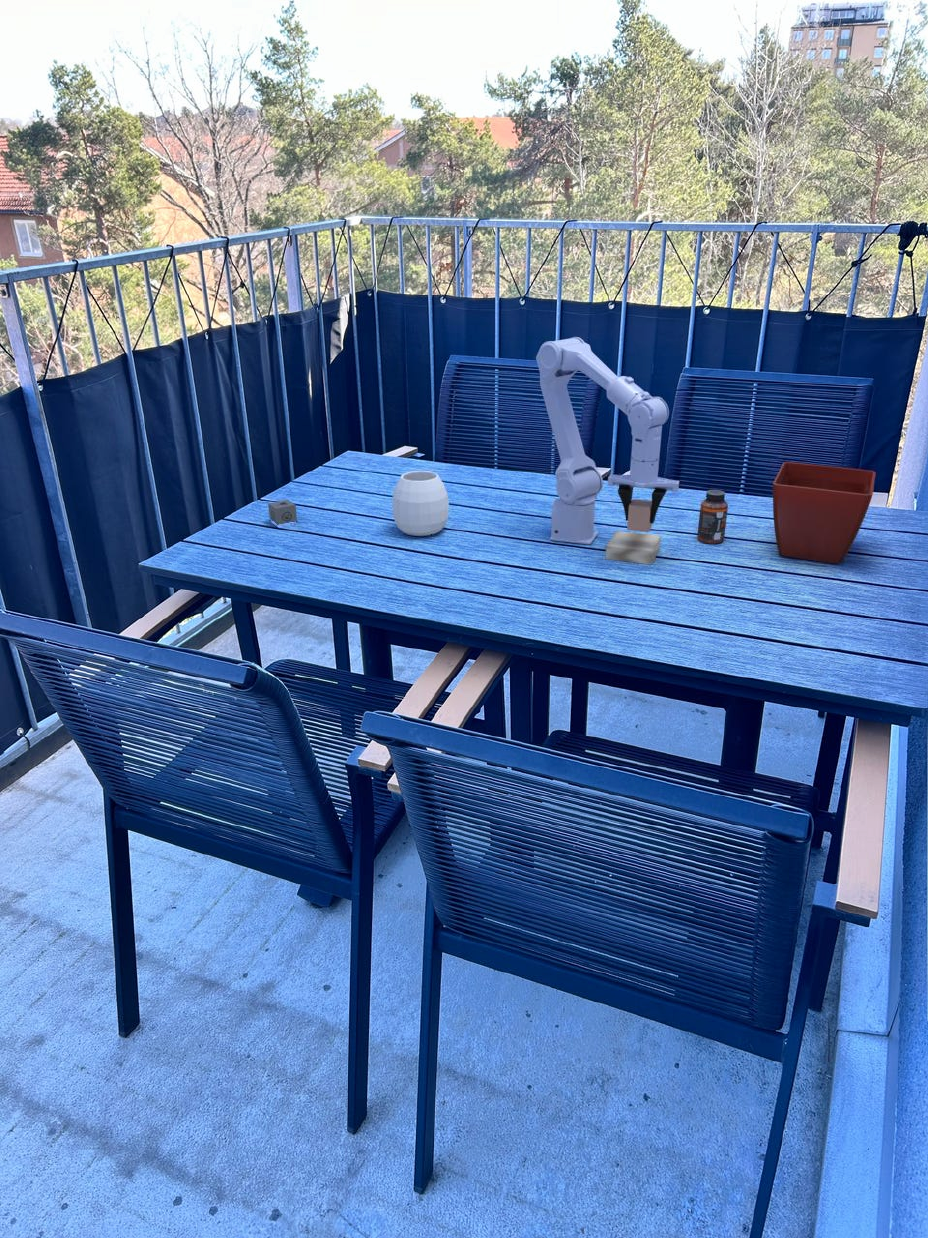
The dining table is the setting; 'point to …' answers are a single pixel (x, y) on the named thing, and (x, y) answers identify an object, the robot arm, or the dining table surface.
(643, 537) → the birch base
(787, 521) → the plant pot
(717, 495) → the supplement bottle
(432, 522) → the white vase
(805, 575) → the dining table surface
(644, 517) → the terracotta block
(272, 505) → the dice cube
